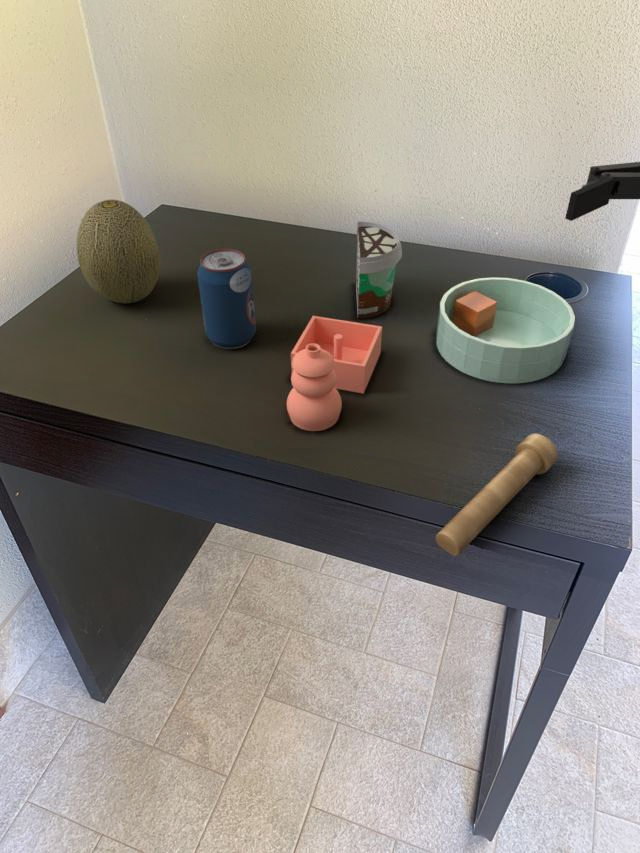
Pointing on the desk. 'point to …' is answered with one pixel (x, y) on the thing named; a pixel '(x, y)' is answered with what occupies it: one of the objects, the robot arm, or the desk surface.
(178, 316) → the desk surface
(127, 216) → the fruit
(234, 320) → the soda can
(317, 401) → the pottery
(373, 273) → the food container
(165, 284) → the desk surface
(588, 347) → the desk surface
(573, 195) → the robot arm
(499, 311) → the bowl
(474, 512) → the pestle
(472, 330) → the block
